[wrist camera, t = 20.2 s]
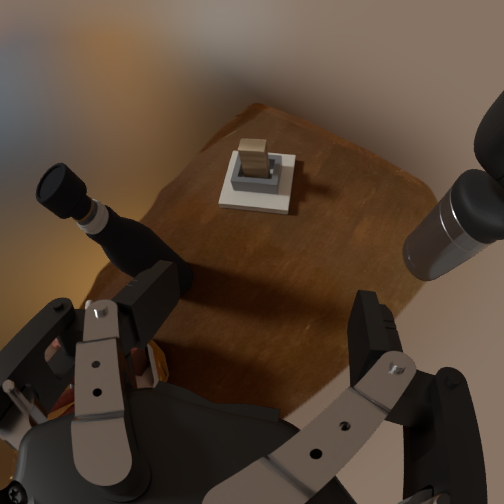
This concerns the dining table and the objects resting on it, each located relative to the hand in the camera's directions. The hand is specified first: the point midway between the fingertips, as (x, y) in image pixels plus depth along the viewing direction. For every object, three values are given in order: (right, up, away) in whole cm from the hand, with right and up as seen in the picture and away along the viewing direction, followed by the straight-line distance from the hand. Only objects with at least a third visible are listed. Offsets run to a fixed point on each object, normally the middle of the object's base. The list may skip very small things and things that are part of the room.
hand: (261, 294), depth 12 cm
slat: (+1, +15, +37) cm, 40 cm away
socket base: (+1, +15, +38) cm, 41 cm away
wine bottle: (-13, -3, +34) cm, 36 cm away
